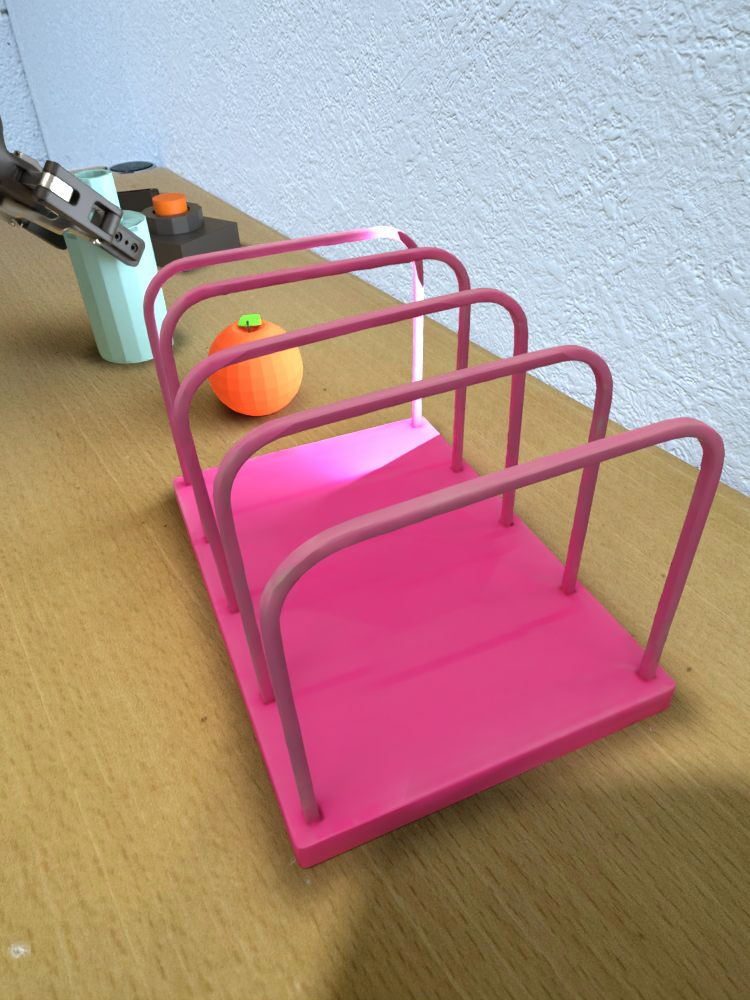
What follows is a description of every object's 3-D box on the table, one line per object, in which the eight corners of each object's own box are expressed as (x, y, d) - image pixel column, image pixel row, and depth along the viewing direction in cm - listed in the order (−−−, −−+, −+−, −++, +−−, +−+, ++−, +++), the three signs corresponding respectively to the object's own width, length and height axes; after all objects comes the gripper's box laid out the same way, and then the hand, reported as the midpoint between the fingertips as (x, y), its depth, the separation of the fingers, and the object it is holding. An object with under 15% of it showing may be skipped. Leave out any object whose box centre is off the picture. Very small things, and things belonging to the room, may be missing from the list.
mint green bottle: (85, 356, 61) (29, 179, 52) (140, 329, 65) (96, 160, 56) (135, 373, 58) (84, 188, 49) (189, 343, 62) (151, 168, 53)
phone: (157, 187, 101) (165, 215, 89) (159, 195, 101) (167, 224, 90) (101, 193, 99) (101, 222, 88) (103, 202, 100) (104, 231, 88)
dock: (118, 258, 81) (106, 214, 78) (174, 236, 86) (166, 194, 83) (186, 274, 76) (177, 227, 73) (241, 250, 82) (234, 205, 78)
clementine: (220, 383, 56) (204, 299, 52) (306, 377, 56) (297, 292, 52) (211, 437, 50) (191, 346, 45) (307, 430, 50) (297, 338, 46)
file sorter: (301, 876, 26) (235, 573, 16) (176, 500, 44) (110, 252, 34) (672, 710, 31) (791, 403, 21) (422, 434, 49) (425, 202, 39)
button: (148, 215, 78) (145, 199, 77) (172, 207, 80) (169, 191, 79) (171, 220, 76) (168, 203, 75) (194, 211, 79) (191, 194, 78)
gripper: (-13, 52, 38) (183, 215, 52) (-145, 46, 44) (62, 193, 59) (-65, 180, 37) (146, 307, 52) (-190, 155, 44) (29, 275, 58)
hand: (102, 247), depth 55 cm, fingers open, 8 cm apart
